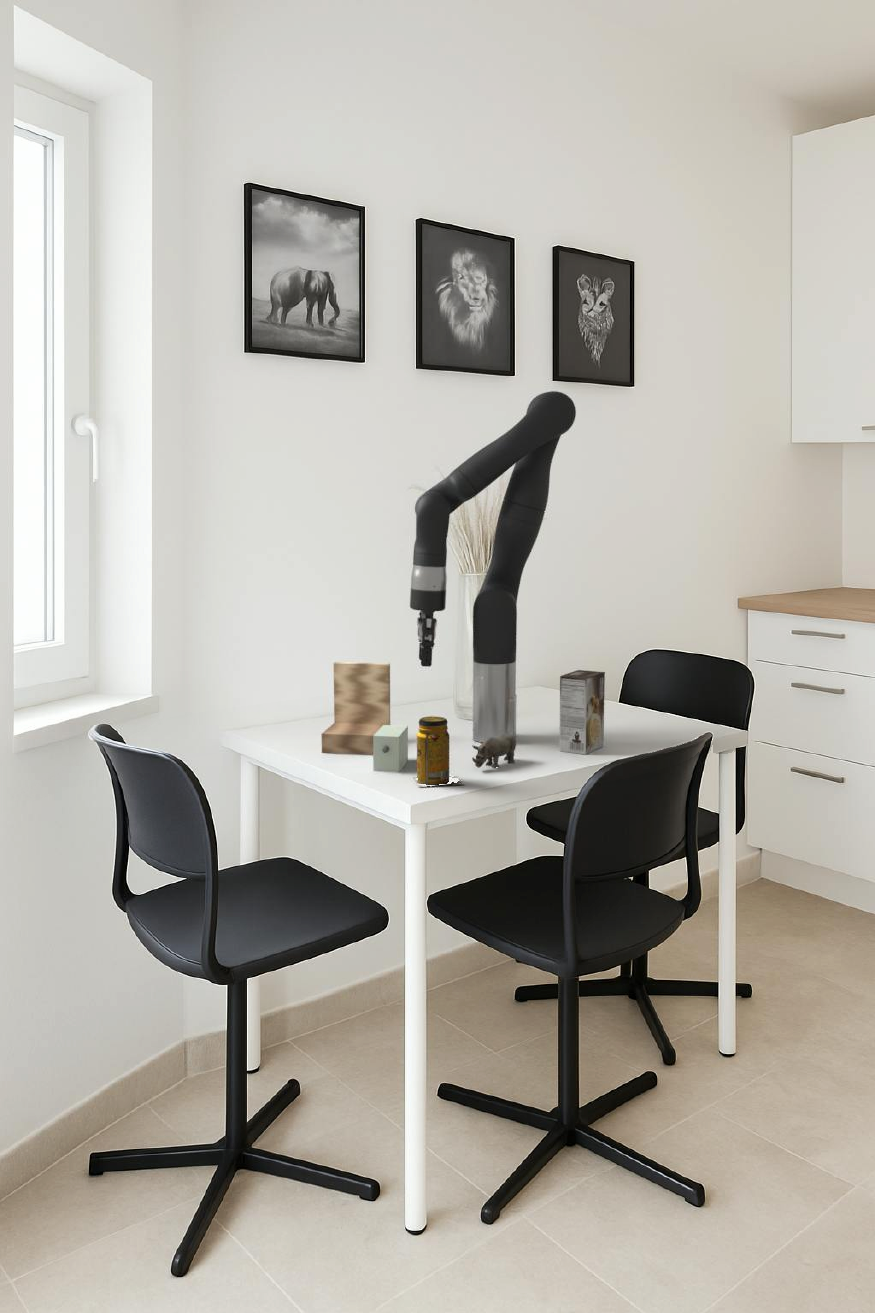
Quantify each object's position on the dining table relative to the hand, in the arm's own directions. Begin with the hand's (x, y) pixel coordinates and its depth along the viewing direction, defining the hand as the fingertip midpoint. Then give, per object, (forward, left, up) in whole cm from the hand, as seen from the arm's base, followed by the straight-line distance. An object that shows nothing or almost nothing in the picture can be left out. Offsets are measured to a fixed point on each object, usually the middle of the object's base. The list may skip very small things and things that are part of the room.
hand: (424, 663), depth 228 cm
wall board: (+14, +1, -17) cm, 22 cm away
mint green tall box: (+4, +20, -17) cm, 27 cm away
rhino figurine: (-16, +18, -18) cm, 30 cm away
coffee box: (-33, +1, -17) cm, 38 cm away
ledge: (+14, +7, -17) cm, 23 cm away
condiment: (-7, +31, -18) cm, 37 cm away
